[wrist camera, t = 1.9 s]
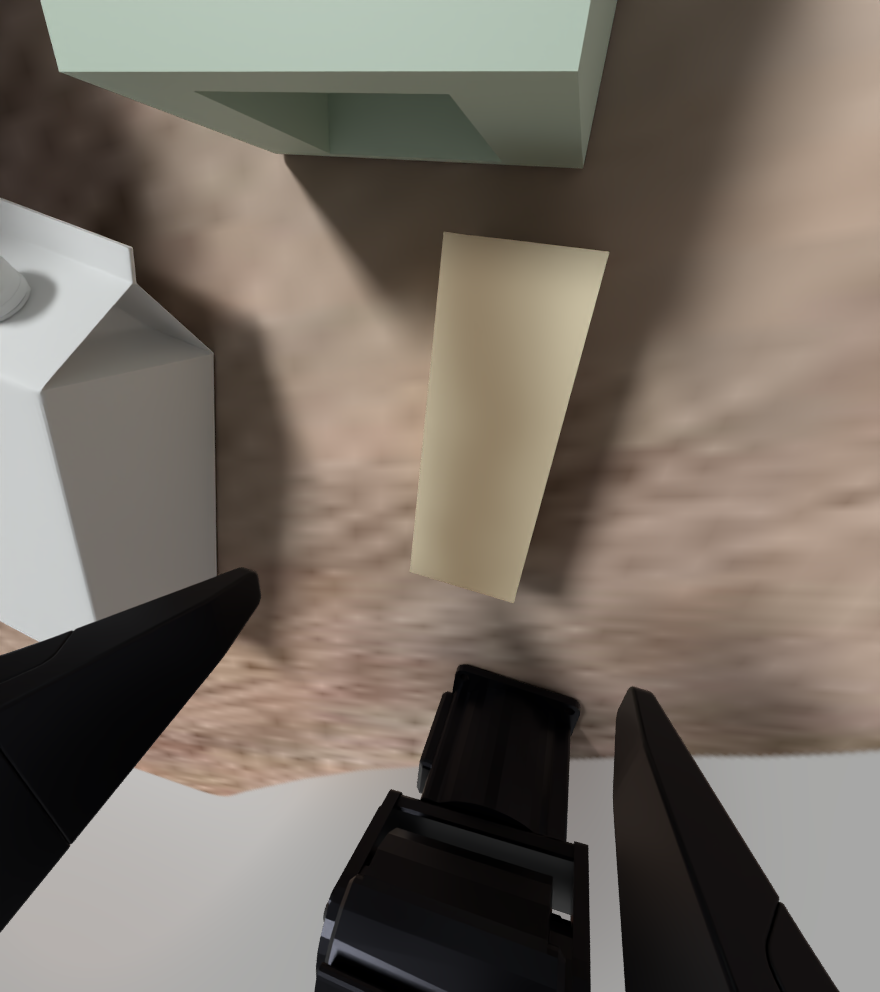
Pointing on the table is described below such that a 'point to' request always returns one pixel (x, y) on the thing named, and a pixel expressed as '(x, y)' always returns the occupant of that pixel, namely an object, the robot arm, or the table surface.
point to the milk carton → (96, 433)
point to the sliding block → (355, 72)
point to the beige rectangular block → (497, 402)
